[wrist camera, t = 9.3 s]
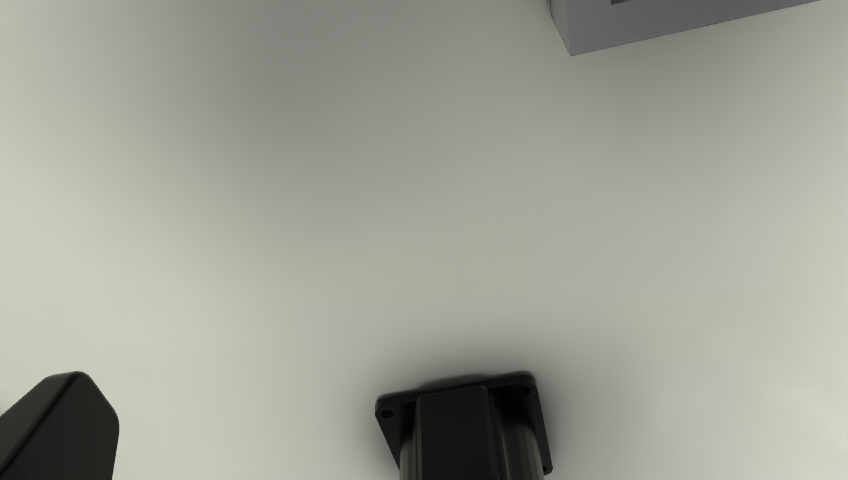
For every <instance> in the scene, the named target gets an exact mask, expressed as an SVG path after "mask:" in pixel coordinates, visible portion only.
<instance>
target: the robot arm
mask: <svg viewBox="0 0 848 480" xmlns="http://www.w3.org/2000/svg"><path fill="white" fill-rule="evenodd" d="M375 416H376V419H377V421H378V423H379V425H380V428H381V430H382V432H383V434H384V437H385V439H386V441H387V443H388V446H389V448H390V450H391V452H392V455H393V457H394V459H395V461H396V464H397V466H398V468H399V470H400V480H545V479H544V475H547V474H549V473H551V471H552V469H553V467H552V462H551V457H550V451H549V446H548V441H547V436H546V431H545V426H544V421H543V416H542V411H541V406H540V401H539V395H538V390H537V385H536V381H535V379H534V378H533V377H532V376H530V375H518V376H512V377H506V378H500V379H494V380H489V381H483V382H477V383H471V384H465V385H459V386H454V387H448V388H442V389H436V390H430V391H424V392H418V393H413V394H407V395H401V396H395V397H389V398H384V399H381V400H379V401H378V402H377V403H376V405H375ZM118 437H119V421H118V417H117V414H116V412H115V410H114V409H113V407H112V406H111V405H110V403H109V402H108V401H107V399H106V398H105V396H104V395H103V394H102V392H101V391H100V390H99V388H98V387H97V385H96V384H95V383H94V381H93V380H92V379H91V377H90V376H89V375H87V374H85V373H84V372H80V371H74V372H68V373H62V374H55V375H51V376H48V377H46V378H44V379H43V380H42V381H41V382H39V383H38V384H37V385H36V386H35V387H34V388H33V389H31V390H30V391H29V392H28V393H27V394H26V395H25V396H23V397H22V398H21V399H20V400H19V401H18V402H16V403H15V404H14V405H13V406H12V407H11V408H10V409H8V410H7V411H6V412H5V413H4V414H3V415H2V416H0V480H112V475H113V469H114V463H115V456H116V450H117V444H118Z"/></svg>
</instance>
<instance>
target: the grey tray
mask: <svg viewBox="0 0 848 480" xmlns="http://www.w3.org/2000/svg"><path fill="white" fill-rule="evenodd" d="M814 1H819V0H550V5H551V14H552V19H553V21H554V23H555V25H556V27H557V29H558V31H559V33H560V35H561V37H562V40H563V42H564V44H565V46H566V48H567V50H568V52H569V54H570V56H574V55H579V54H583V53H588V52H592V51H596V50H601V49H605V48H610V47H614V46H619V45H623V44H628V43H632V42H636V41H641V40H645V39H650V38H654V37H659V36H663V35H668V34H672V33H676V32H681V31H685V30H690V29H694V28H699V27H703V26H708V25H712V24H716V23H721V22H725V21H730V20H734V19H739V18H743V17H748V16H752V15H756V14H761V13H765V12H770V11H774V10H779V9H783V8H788V7H792V6H796V5H801V4H805V3H810V2H814Z"/></svg>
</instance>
